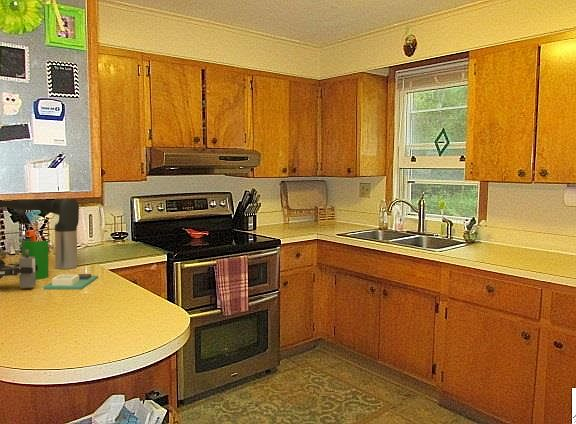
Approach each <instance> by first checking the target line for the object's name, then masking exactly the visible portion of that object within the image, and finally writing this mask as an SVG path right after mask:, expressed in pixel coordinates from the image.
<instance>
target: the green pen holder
mask: <svg viewBox="0 0 576 424" xmlns="http://www.w3.org/2000/svg"><path fill="white" fill-rule="evenodd" d="M36 236H37V235H36V232H35V230H30V229H29V230H25V237H30V238H28V239H27V238H26V239H22V240H21V258H22V257H25V250H26V249H29V257H35V265H38V271H35V276H36V280H42V279H46V278H49V240H38V241H37V237H36Z"/></svg>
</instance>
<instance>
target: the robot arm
mask: <svg viewBox="0 0 576 424" xmlns="http://www.w3.org/2000/svg"><path fill="white" fill-rule="evenodd" d="M79 205H80V204H79V202H78V199H76V198H75V199H55V200H19V201H0V207H2V208H7V209H8V208H9V209H14V210H21V211H43V212H46V213H51V214H55V215H57V216H58V222H57V223H56V224H55V226H54V245H55V246H54V248H55V249H54V254H55V255H54V259H55V269H58V270H59V269H60V270H68V269H75V268H78V234H77V233H78V232H77V231H78V225H79V222H80V220H79V219H80V206H79ZM35 271H38V265H35ZM31 273H33V268H32V267H22V269H21V267H19V262H8V263H7V264H6V263H5V260H3V259H2V258H0V280H1V279H2V278H3V277H8V276H11V277H12V276H18V275H20V274H31Z"/></svg>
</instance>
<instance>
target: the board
mask: <svg viewBox="0 0 576 424" xmlns="http://www.w3.org/2000/svg"><path fill="white" fill-rule="evenodd" d="M97 279H99V275H92V273H78V274H73V273H69V272H67V273H66V272H65V273H62V274H58V275H56V276H55V277H53V278H51V281H50V283H48V284H46V285H44V286H43V290H83V289H84V288H86V287H88V286H89V285H90V284H91V283H93V282H94V281H95V280H97Z"/></svg>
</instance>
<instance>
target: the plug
mask: <svg viewBox="0 0 576 424" xmlns="http://www.w3.org/2000/svg"><path fill="white" fill-rule="evenodd" d="M18 263H19V267H21V269H22V267H32V268H33V273H31V274H19V288H33V287H34V286H36V285H37V284H36V282H37V281H36V280H37V279H36V276H35V257H29V249H26V250H25V257H22V256H21V257H20V258H18Z"/></svg>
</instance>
